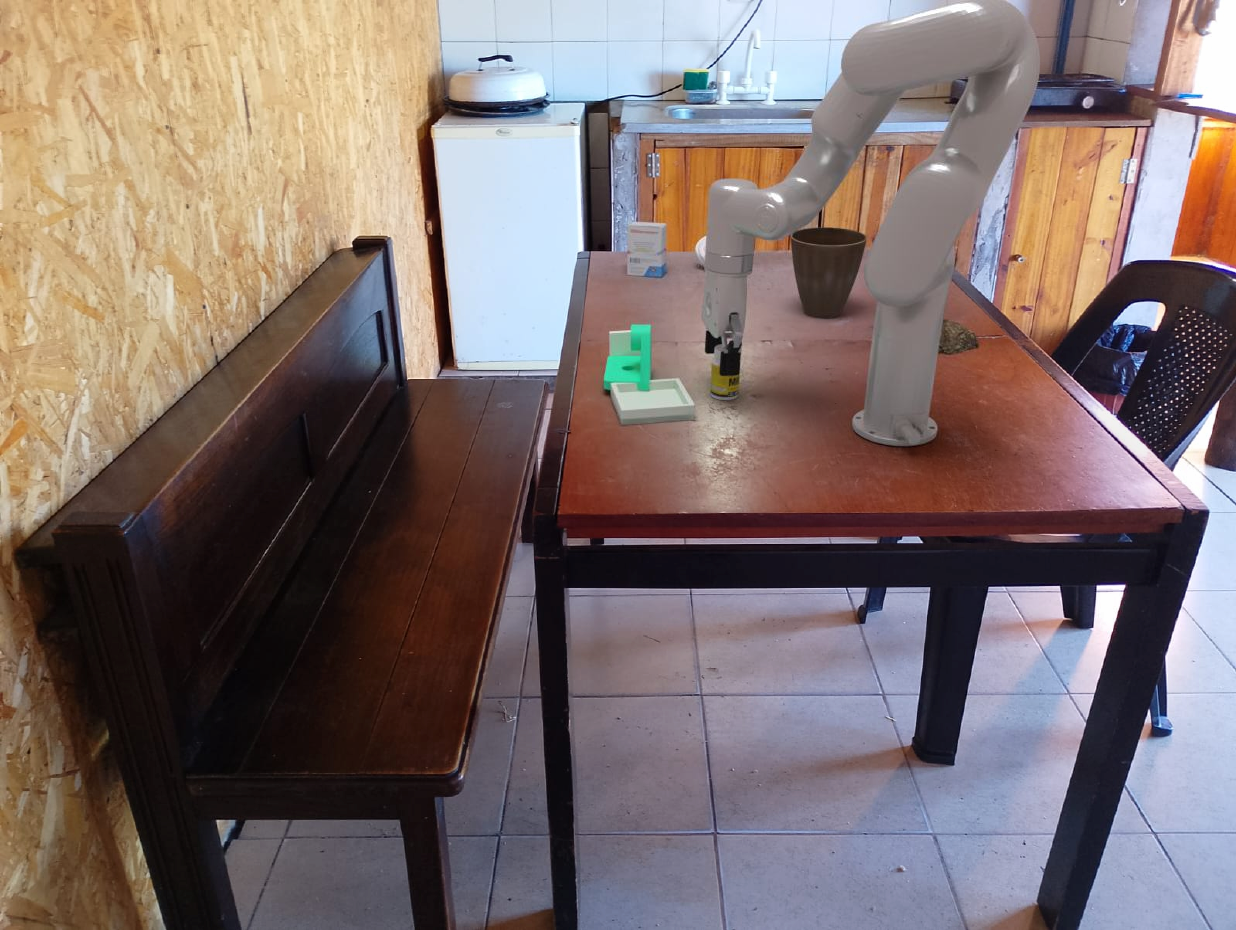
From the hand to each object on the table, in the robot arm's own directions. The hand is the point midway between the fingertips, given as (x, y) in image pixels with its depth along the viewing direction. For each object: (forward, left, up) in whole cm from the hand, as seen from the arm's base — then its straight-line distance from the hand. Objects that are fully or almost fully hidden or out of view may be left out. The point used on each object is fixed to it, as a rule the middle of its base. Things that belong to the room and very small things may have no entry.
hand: (721, 363), depth 159 cm
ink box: (+74, -2, -6) cm, 75 cm away
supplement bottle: (-1, -1, -6) cm, 6 cm away
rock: (+17, -47, -6) cm, 50 cm away
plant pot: (+38, -32, -6) cm, 50 cm away
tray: (-4, +12, -6) cm, 14 cm away
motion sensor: (+76, -18, -6) cm, 79 cm away
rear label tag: (+14, +13, -6) cm, 20 cm away
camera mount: (+8, +14, -6) cm, 17 cm away
